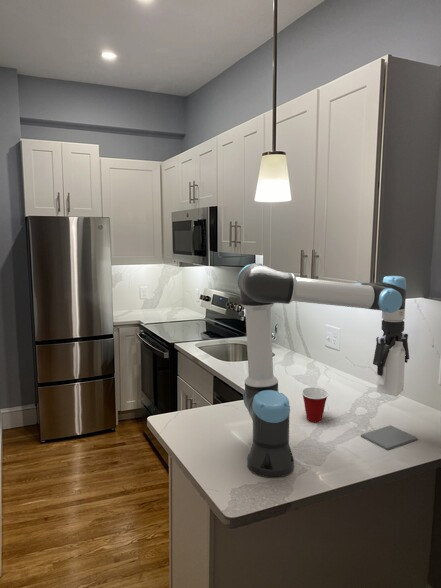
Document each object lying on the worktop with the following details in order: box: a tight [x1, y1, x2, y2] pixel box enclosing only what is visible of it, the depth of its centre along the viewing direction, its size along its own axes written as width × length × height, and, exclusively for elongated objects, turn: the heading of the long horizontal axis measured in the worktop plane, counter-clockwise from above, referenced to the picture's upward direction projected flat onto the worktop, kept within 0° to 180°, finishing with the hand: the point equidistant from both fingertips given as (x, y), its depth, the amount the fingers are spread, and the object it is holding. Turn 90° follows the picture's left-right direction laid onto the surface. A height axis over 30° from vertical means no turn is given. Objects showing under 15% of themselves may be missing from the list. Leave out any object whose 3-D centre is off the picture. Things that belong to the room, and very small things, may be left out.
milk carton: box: [376, 341, 406, 397], centre depth 160 cm, size 7×7×19 cm
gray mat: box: [360, 424, 419, 451], centre depth 164 cm, size 16×12×1 cm
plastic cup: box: [300, 386, 330, 424], centre depth 179 cm, size 11×11×12 cm
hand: (390, 381), depth 161 cm, fingers closed on milk carton, 9 cm apart
